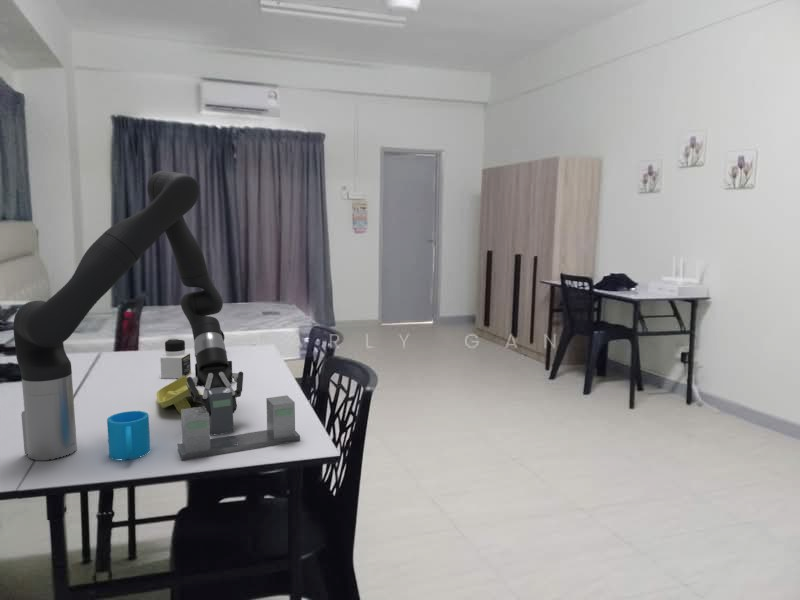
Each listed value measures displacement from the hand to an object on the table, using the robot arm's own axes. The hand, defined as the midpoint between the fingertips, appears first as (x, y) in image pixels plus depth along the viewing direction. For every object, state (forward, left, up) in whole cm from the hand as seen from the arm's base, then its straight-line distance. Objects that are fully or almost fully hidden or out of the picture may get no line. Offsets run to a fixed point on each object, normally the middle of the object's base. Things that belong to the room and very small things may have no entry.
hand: (221, 413), depth 140 cm
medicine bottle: (-44, +39, -5) cm, 59 cm away
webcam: (-51, +70, -5) cm, 87 cm away
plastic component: (-23, +13, -5) cm, 27 cm away
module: (-1, +1, -5) cm, 5 cm away
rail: (+9, -6, -5) cm, 11 cm away
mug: (-10, -19, -5) cm, 22 cm away
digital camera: (-27, +35, -5) cm, 44 cm away
